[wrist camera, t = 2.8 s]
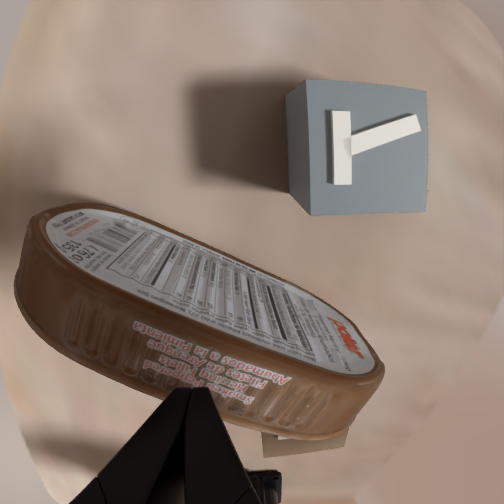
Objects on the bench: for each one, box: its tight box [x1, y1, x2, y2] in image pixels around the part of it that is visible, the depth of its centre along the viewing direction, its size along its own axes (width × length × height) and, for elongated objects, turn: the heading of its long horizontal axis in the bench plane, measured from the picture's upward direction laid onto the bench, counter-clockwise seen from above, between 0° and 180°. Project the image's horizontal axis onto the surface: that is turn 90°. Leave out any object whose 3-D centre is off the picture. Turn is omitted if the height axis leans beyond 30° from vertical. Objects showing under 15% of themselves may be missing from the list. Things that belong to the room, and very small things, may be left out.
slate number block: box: [285, 79, 428, 216], centre depth 12 cm, size 4×4×5 cm
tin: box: [14, 203, 385, 440], centre depth 12 cm, size 15×3×8 cm, turn 64°
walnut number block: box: [261, 428, 349, 458], centre depth 16 cm, size 4×4×5 cm
